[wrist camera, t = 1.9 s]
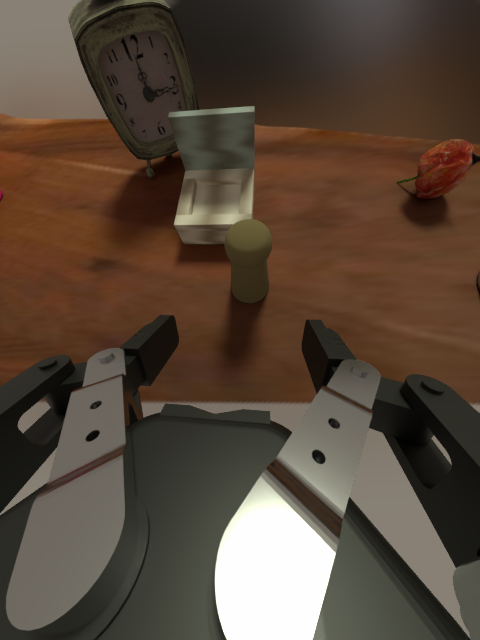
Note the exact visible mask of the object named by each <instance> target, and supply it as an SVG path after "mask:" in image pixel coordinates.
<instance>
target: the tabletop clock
mask: <svg viewBox="0 0 480 640" xmlns="http://www.w3.org/2000/svg"><path fill="white" fill-rule="evenodd" d="M68 19H69V23H70V27H71V30H72V34H73V38H74V41H75V44H76V47H77V51H78V54H79V57H80V60H81V63H82V65H83V68H84V70H85V73H86V75H87V77H88V80H89V82H90V84H91V86H92V88H93V90H94V92H95V93H96V96H97V98H98V100H99V102H100V104H101V106H102V108H103V110H104V112H105V114H106V116H107V117H108V119H109V120H110V122H111V124H112V125H113V127H114V128H115V130H116V132H117V133H118V135H119V136H120V138H121V140H122V141H123V142H124V144H125V145H126V146H127V148H128V149H129V150H130V152H131V153H132V154H133V155H134V156H135V157H137V158H138V159H143V160H147V165H148V168H146V174H147V176H148V177H151V178H152V177H154V171H153V169H152V168H151V163H150V160H151V159H155V158H159V157H163V156H171V154H173V153H175V152H177V151H179V150H178V147H177V144H176V141H175V138H174V135H173V132H172V129H171V126H170V123H169V120H168V115H169V112H179V111H193V110H199V107H198V101H197V94H196V87H195V82H194V78H193V74H192V70H191V66H190V62H189V58H188V54H187V49H186V47H185V43H184V40H183V37H182V34H181V31H180V28H179V25H178V23H177V21H176V19H175V17H174V15H173V13H172V10H171V8H170V7H169V6H168V5H167V4H166V2H165V1H164V0H81V1H80V2H78V3H77V4H76V5H75V6H74V7H73V9H72V11H71V13H70V16H69V17H68Z"/></svg>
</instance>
